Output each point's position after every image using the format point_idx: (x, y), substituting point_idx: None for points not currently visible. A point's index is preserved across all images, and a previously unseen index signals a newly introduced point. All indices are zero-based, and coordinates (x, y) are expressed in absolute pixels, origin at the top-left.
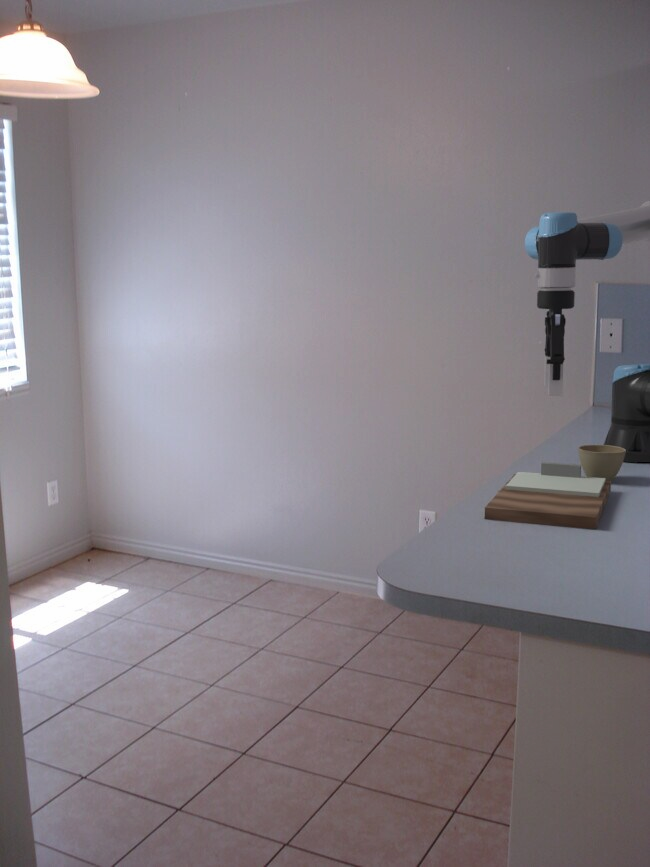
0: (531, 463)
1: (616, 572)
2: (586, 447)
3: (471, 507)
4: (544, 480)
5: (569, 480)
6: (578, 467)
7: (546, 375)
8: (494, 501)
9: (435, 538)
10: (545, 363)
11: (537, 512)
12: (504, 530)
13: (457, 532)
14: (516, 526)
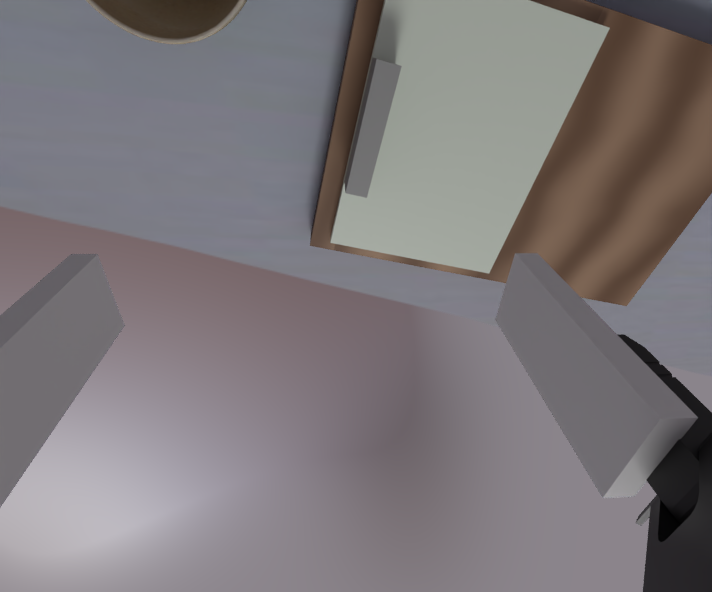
0: (12, 176)
1: None
2: None
3: None
4: (434, 181)
5: (434, 106)
6: (399, 73)
7: (81, 373)
8: (585, 290)
9: (699, 353)
10: (25, 466)
11: (695, 213)
12: (696, 263)
13: (679, 328)
14: (678, 242)
